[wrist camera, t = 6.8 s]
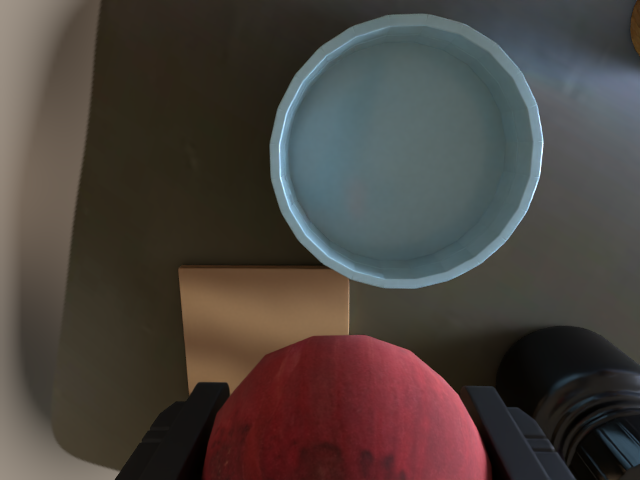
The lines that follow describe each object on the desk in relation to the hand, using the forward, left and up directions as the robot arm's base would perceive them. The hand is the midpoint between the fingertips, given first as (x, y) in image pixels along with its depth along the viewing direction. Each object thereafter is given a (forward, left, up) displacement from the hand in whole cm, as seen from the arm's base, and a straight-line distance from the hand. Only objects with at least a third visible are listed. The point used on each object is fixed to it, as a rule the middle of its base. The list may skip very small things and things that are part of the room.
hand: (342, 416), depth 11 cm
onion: (0, 0, -2) cm, 2 cm away
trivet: (+8, -6, -20) cm, 22 cm away
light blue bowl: (-6, +3, -20) cm, 21 cm away
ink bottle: (+10, +15, -20) cm, 27 cm away
